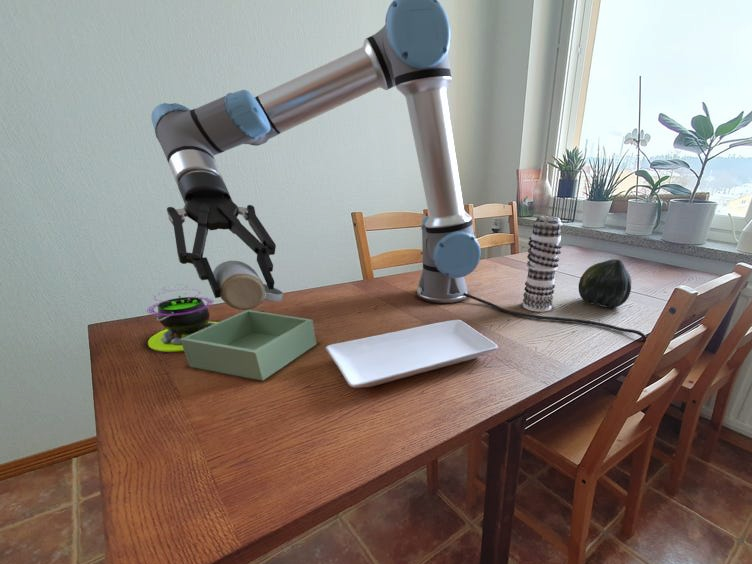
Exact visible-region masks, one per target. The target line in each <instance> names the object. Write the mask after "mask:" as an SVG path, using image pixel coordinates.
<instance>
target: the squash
mask: <svg viewBox="0 0 752 564" xmlns="http://www.w3.org/2000/svg"><path fill="white" fill-rule="evenodd" d="M631 292H632V277H631V275H630V273H629V270H628V269H627V268H626V266H625V264H624V262H623V261H622V260H621V259H619V258H614V259H608V260H605V261H602V262H597V263H594V264H593V265H591V266H589V267H588V268H586V270H585V271H584V272H583V273H582V275H581V276H580V278H579V282H578V294H579V296H580V297H581V299H582V300H583V301H584V303H586V304H590V305H591V304H593V305H596V306H597V305H599V306H601V307H605V308H607V309H615V308H617V307H620V306H623V304H624V303H625V302H626V301H628V299H629V297H630V295H631Z"/></svg>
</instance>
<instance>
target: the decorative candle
mask: <svg viewBox="0 0 752 564" xmlns="http://www.w3.org/2000/svg"><path fill="white" fill-rule="evenodd" d="M532 224H533V225H532V233H531V237H530V236H529V238H528V240H529V241H528V243H527V245H528V246H529V248H528V249H527V253H528V254H527V255H526V259H528V261H527V262H526V266H527V269H528V270H527V275H526V281H525V283H524V286H525V287H524V290H523V291H525V292H524V293H523V294H522V295H523V299H522V302H523V304H522V307H523V308H524V309H526V310H528V311H532V312H537V313H542V312H543V313H545V312H549V311H550V310H552V305H553V300H554V295H553V294H554V293H555V290H554V289H555V287H556V285H555V280H556V279H555V275H556V271H557V270H558V267H559V264H558V262H559V261H560V258H559V257H558V256H559V255H561V254H562V252H561V250H560V249H562V248H563V246H562V245H561V239H562V235H561V233H562V227H563V226H564V223H563V222H562V221H561V218H560V217H558V216H553V215H539V216H538V217H537V218H536V219H535V220H533V221H532Z"/></svg>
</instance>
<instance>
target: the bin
mask: <svg viewBox="0 0 752 564" xmlns="http://www.w3.org/2000/svg"><path fill="white" fill-rule="evenodd" d="M217 322H218V321H217ZM180 341H181V344H182V346H183V349H184V351H183V352H184V354H185V357H186V360H187V362H188V365H189V367H190V368H196V369H200V370H205V371H210V372H216V373H222V374H226V375H231V376H236V377H242V378H246V379H252V380H257V381H265V380H266V379H267V378H269V377H270V376H273V374H275V373H276V372H278V371H279V370H281V369H283V368H284V367H285V366H287V365H288V364H290V363H291V362H292V361H294V360H296V359H297V358H299V357H300V356H301V355H303V354H305V353H306V352H308V351H309V350H311V349H312V348H313V347H314V346H317V344H318V343H317V338H316V332H315V327H314V320H313V319H312V318H311V319H310V318H304V317H298V316H292V315H291V316H290V315H285V314H277V313H274V312H273V313H272V312H265V311H259V310H252V309H250V310H243V311H241V312H239V313H236V314H234V315H232V316H230V317H227V318H225V319H223V320H220V321H219V322H218V323H216V324H214V325H211V326H209V327H207V328H204V329H202V330H200V331H198V332H195V333H193V334H191V335H188V336H186V337H184V338H182V339H180Z"/></svg>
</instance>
